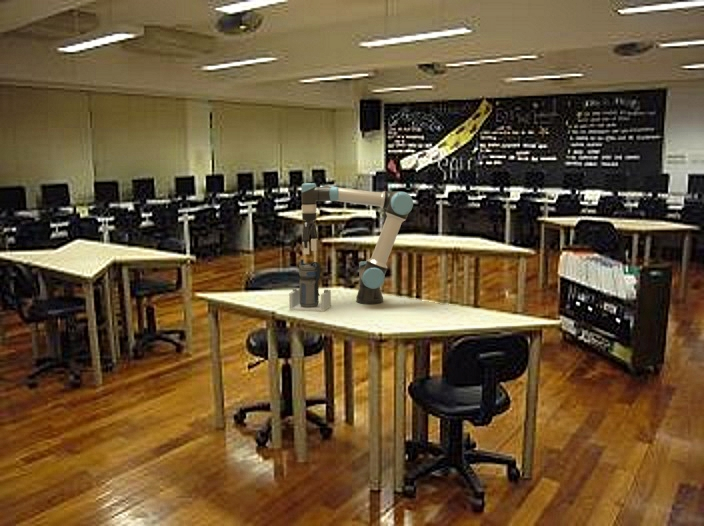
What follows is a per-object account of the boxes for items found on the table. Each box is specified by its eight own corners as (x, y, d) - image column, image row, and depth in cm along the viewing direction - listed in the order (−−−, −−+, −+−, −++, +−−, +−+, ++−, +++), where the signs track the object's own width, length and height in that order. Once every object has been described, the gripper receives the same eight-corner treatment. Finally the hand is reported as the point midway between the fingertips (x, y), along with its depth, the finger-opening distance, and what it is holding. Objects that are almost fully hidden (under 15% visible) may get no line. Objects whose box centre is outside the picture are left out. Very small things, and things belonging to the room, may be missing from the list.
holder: (330, 305, 340) (330, 287, 339) (324, 311, 327) (323, 292, 325) (297, 304, 345) (297, 286, 343) (289, 309, 331) (289, 291, 330)
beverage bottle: (314, 309, 328) (313, 262, 324) (294, 306, 335) (294, 260, 332) (325, 305, 336) (325, 260, 333) (306, 303, 344) (305, 258, 340)
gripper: (309, 211, 341) (310, 249, 344) (295, 214, 317) (296, 255, 320) (322, 211, 339) (323, 249, 343) (309, 214, 315) (310, 255, 319)
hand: (310, 252), depth 331 cm, fingers open, 13 cm apart
